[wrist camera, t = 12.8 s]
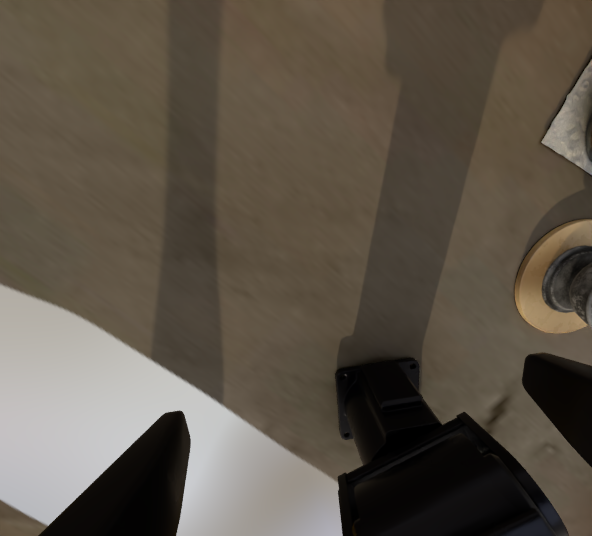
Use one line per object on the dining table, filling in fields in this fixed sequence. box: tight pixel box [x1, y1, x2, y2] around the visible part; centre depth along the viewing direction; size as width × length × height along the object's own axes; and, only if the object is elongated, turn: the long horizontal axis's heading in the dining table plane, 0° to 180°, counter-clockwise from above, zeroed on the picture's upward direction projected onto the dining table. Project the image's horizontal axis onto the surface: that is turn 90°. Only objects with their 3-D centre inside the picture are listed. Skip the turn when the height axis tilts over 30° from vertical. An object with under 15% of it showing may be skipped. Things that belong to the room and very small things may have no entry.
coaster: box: [515, 219, 592, 333], centre depth 22 cm, size 9×9×1 cm
